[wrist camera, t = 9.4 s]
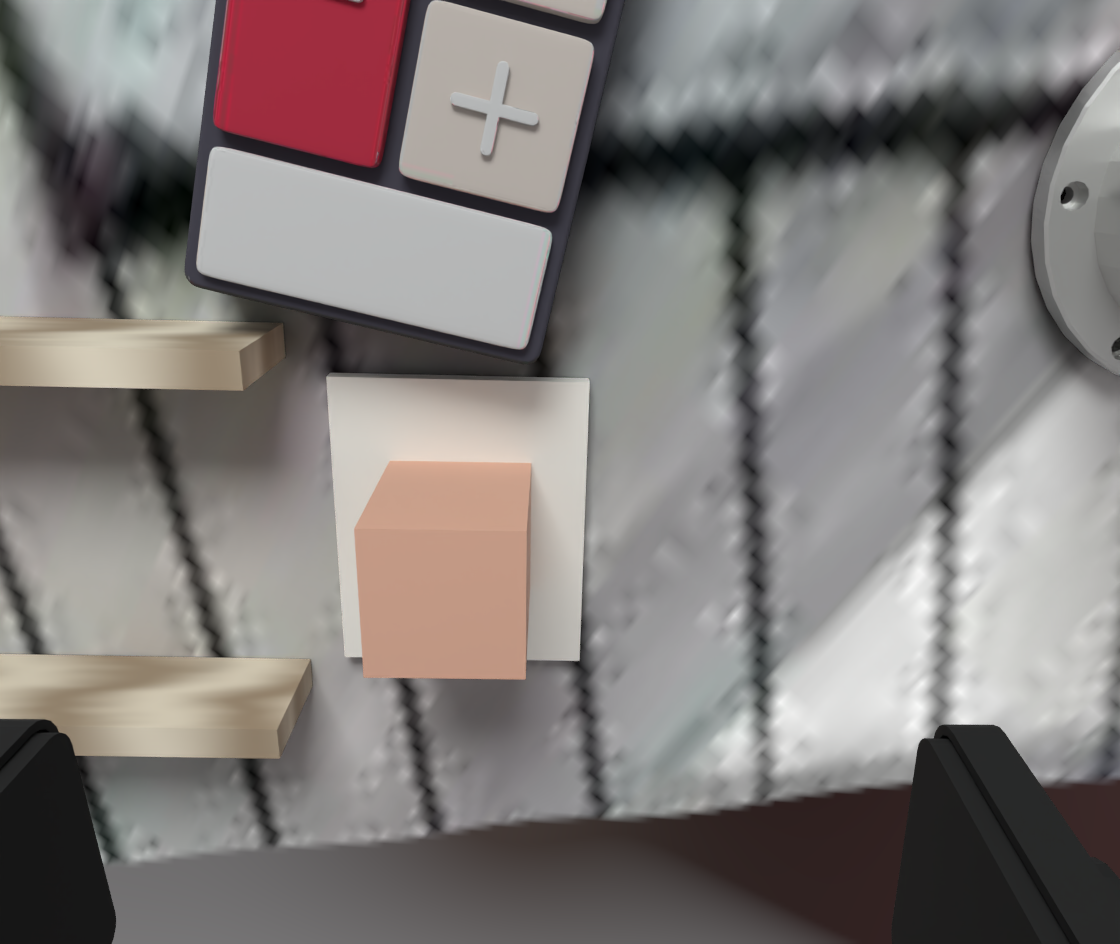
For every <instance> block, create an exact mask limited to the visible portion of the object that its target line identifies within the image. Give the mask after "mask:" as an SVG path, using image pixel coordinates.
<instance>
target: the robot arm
mask: <svg viewBox="0 0 1120 944" xmlns="http://www.w3.org/2000/svg"><path fill="white" fill-rule="evenodd" d="M1064 188H1065V190H1066V196H1065V198H1064V200H1062V201H1061V197H1060V196H1061V193H1062V191H1063V189H1064ZM1031 246H1032V253H1033V261H1034V268H1035V276H1036V279H1037V282H1038V285H1039V287H1040V290H1041V293H1042V296H1043V299H1044V302H1045V304H1046V307H1047V309H1048V311H1049V312H1050V314H1051V315H1052V317H1053V319H1054V320H1055V322H1056V323H1057V325H1058V326H1059V328H1060V330H1061V331H1062V333H1063V334H1064V336H1065V337H1066V338H1067V339H1068V340H1069V341H1070V342H1072V343H1073V344H1074V345H1075V346H1076V347H1077V348H1078V349H1079V350H1080V351H1081V352H1082V353H1083V354H1084V355H1085V356H1086V357H1087V358H1089V359H1090V360H1092V361H1094V362H1095V363H1097V364H1099V365H1100V366H1102V367H1104V368H1105V369H1107V370H1109V371H1110V372H1112V373H1114V374H1116V375H1119V376H1120V49H1119V50H1117V51H1116V52H1115V53H1114V54H1113V55H1112V56H1111V57H1110V58H1109V59H1108V60H1107V61H1106V63H1105V64H1104V65H1103V66H1102V67H1101V68H1100V69H1099V71H1098V72H1097V73H1096V74H1095V75H1094V76H1093V77H1092V79H1091V80H1090V81H1089V82H1088V83H1087V84H1086V85H1085V87H1084V88H1083V89H1082V90H1081V92H1080V94H1079V95H1078V97H1077V98H1076V100H1075V102H1074V103H1073V105H1072V106H1071V108H1070V110H1069V111H1068V113H1067V114H1066V116H1065V117H1064V119H1063V121H1062V122H1061V124H1060V125H1059V127H1058V130H1057V132H1056V135H1055V137H1054V139H1053V142H1052V144H1051V146H1050V149H1049V151H1048V153H1047V156H1046V158H1045V160H1044V163H1043V165H1042V169H1041V173H1040V177H1039V182H1038V186H1037V190H1036V194H1035V198H1034V202H1033V214H1032V231H1031ZM1114 341H1115V343H1114ZM1113 343H1114V345H1113ZM1112 345H1113V346H1112ZM115 928H116V916H115V910H114V906H113V902H112V899H111V894H110V891H109V886H108V882H107V879H106V875H105V871H104V867H103V863H102V859H101V855H100V851H99V847H98V843H97V839H96V835H95V831H94V828H93V824H92V820H91V816H90V812H89V808H88V804H87V800H86V796H85V792H84V788H83V784H82V780H81V777H80V773H79V769H78V765H77V761H76V757H75V753H74V749H73V745H72V742H71V740H70V738H69V737H68V736H67V735H66V734H64V733H59V731H58V729H57V726H56V725H55V724H54V723H53V722H52V721H49V720H46V719H0V944H112V941H113V938H114V933H115ZM892 944H1120V879H1119V878H1118V877H1117V875H1116V874H1115V873H1114V872H1113V871H1112V870H1111V869H1110V867H1108V865H1107V864H1106V863H1103V862H1102V861H1100V860H1099V859H1097V858H1095V857H1094V858H1093V857H1090V856H1089V855H1088V853H1087V852H1086V850H1085V849H1084V848H1083V846H1082V844H1081V843H1080V842H1079V840H1078V839H1077V837H1076V836H1075V834H1074V833H1073V831H1072V830H1071V828H1070V827H1069V826H1068V824H1067V823H1066V821H1065V820H1064V818H1063V817H1062V815H1061V814H1060V813H1059V811H1058V810H1057V808H1056V807H1055V805H1054V804H1053V802H1052V801H1051V799H1050V798H1049V797H1048V795H1047V794H1046V792H1045V791H1044V789H1043V788H1042V786H1041V785H1040V783H1039V782H1038V781H1037V779H1036V778H1035V776H1034V775H1033V773H1032V772H1031V770H1030V769H1029V768H1028V766H1027V765H1026V763H1025V762H1024V760H1023V759H1022V757H1021V756H1020V754H1019V753H1018V752H1017V750H1016V749H1015V747H1014V746H1013V744H1012V743H1011V741H1010V740H1009V739H1008V737H1007V736H1006V734H1005V733H1004V732H1003V731H1002V730H1001V729H1000V727H998V726H995V725H941V726H939V727H938V729H937V730H936V732H935V736H934V739H928V738H924V739H922V740H921V741H920V743H919V746H918V750H917V757H916V764H915V771H914V777H913V784H912V791H911V798H910V805H909V812H908V819H907V826H906V832H905V839H904V846H903V853H902V859H901V866H900V873H899V880H898V887H897V894H896V901H895V907H894V914H893V921H892Z"/></svg>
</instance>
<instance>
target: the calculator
mask: <svg viewBox="0 0 1120 944" xmlns="http://www.w3.org/2000/svg"><path fill="white" fill-rule="evenodd" d="M624 2H625V0H216V5H215V14H214V22H213V31H212V39H211V47H210V56H209V64H208V73H207V81H206V90H205V98H204V107H203V115H202V124H201V132H200V141H199V149H198V157H197V166H196V174H195V183H194V191H193V200H192V208H191V217H190V225H189V234H188V242H187V251H186V259H185V275H186V278H187V279H188V281H189V282H190V283H191V284H193V285H194V286H196V287H199V288H203V289H207V290H211V291H215V292H219V293H224V294H228V295H232V296H236V297H241V298H245V299H249V300H253V301H258V302H262V303H266V304H270V305H274V306H279V307H283V308H287V309H291V310H296V311H300V312H304V313H308V314H313V315H317V316H321V317H325V318H329V319H334V320H338V321H342V322H346V323H351V324H355V325H359V326H363V327H368V328H372V329H376V330H380V331H384V332H389V333H393V334H397V335H401V336H406V337H410V338H414V339H418V340H423V341H427V342H431V343H435V344H440V345H444V346H448V347H452V348H456V349H461V350H465V351H469V352H473V353H478V354H482V355H486V356H490V357H495V358H499V359H503V360H507V361H511V362H516V363H521V364H531V363H533V362H535V361H536V360H537V359H538V358H539V356H540V353H541V350H542V346H543V342H544V338H545V334H546V330H547V325H548V321H549V317H550V313H551V309H552V304H553V300H554V296H555V292H556V288H557V284H558V279H559V275H560V271H561V267H562V263H563V258H564V254H565V250H566V246H567V242H568V237H569V233H570V229H571V225H572V221H573V216H574V212H575V208H576V204H577V200H578V195H579V191H580V187H581V183H582V179H583V174H584V170H585V166H586V162H587V158H588V153H589V149H590V145H591V141H592V136H593V132H594V128H595V124H596V120H597V115H598V111H599V107H600V103H601V99H602V94H603V90H604V86H605V82H606V78H607V73H608V69H609V65H610V61H611V57H612V52H613V48H614V44H615V40H616V36H617V31H618V27H619V23H620V19H621V15H622V10H623V6H624Z"/></svg>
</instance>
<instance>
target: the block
mask: <svg viewBox="0 0 1120 944" xmlns="http://www.w3.org/2000/svg"><path fill="white" fill-rule="evenodd" d="M354 536H355V551H356V567H357V582H358V598H359V613H360V629H361V644H362V660H363V675H364V678H445V679H526V662H527V643H528V623H529V603H530V555H531V463H504V462H440V461H389V463H388V465H387V467H386V469H385V471H384V472H383V474H382V476H381V478H380V480H379V482H378V484H377V486H376V488H375V490H374V492H373V493H372V495H371V497H370V499H369V501H368V503H367V505H366V507H365V509H364V511H363V513H362V515H361V516H360V518H359V520H358V522H357V524H356V526H355V528H354Z"/></svg>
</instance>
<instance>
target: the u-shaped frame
mask: <svg viewBox="0 0 1120 944" xmlns="http://www.w3.org/2000/svg"><path fill="white" fill-rule="evenodd" d="M284 358H286V355H285V342H284V330H283V323H268V322H224V321H180V320H135V319H91V318H47V317H3V316H0V385H2V386H49V387H95V388H142V389H189V390H235V391H243V390H245V389H246V388H247V387H249V386H250V385H251V384H252V383H254V382H255V381H256V380H257V379H259V378H260V377H261V376H263V375H264V374H265V373H266V372H268V371H269V370H270V369H272V368H273V367H274V366H275V365H277V364H278V363H279V362H281V361H282V360H283V359H284ZM312 686H313V684H312V672H311V660H310V659H268V658H208V657H148V656H89V655H29V654H0V719H46V720H49V721H52V722H53V723H54V724H55V725H56V726H57V729H58V731H59V733H64V734H66V735H67V736H68V737H69V738H70V740H71V742H72V745H73V749H74V753H75V756H134V757H201V758H268V759H280V757H281V755H282V753H283V751H284V748H285V746H286V744H287V742H288V739H289V737H290V735H291V733H292V730H293V728H294V726H295V724H296V722H297V719H298V717H299V715H300V713H301V710H302V708H303V706H304V704H305V701H306V699H307V697H308V695H309V692H310V690H311V688H312Z"/></svg>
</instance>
